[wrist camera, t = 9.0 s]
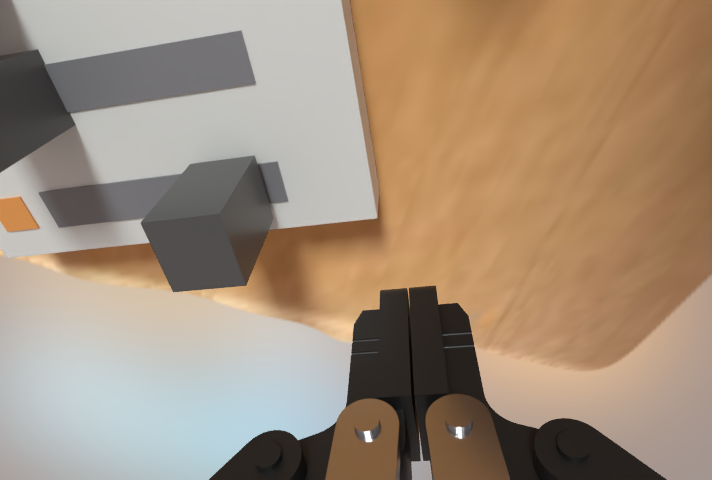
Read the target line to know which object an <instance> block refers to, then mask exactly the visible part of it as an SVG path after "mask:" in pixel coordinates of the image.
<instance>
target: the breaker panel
mask: <svg viewBox="0 0 712 480" xmlns="http://www.w3.org/2000/svg"><path fill="white" fill-rule="evenodd" d="M254 155H255V158H256V161H257V164H258V168H259V171H260V174H261V178H262V181H263V184H264V188H265V191H266V194H267V197H268V201H269V204H270V207H271V211H272V214H273V217H274V219H273V221H272V224H271V226H270V229H269V230H273V229H283V228H292V227H301V226H310V225H320V224H329V223H338V222H348V221H357V220H366V219H376V218H377V216H378V200H379V184H378V178H377V171H376V165H375V159H374V152H373V146H372V140H371V133H370V127H369V121H368V114H367V108H366V102H365V95H364V89H363V82H362V76H361V70H360V63H359V57H358V51H357V44H356V38H355V32H354V25H353V19H352V13H351V6H350V0H0V248H1V250H2V251H3V253H4V254H5V256H6V257H7V258H13V257H22V256H31V255H41V254H50V253H59V252H68V251H78V250H87V249H96V248H106V247H115V246H124V245H134V244H143V243H150V242H149V240H148V238H147V236H146V234H145V232H144V230H143V228H142V226H141V224H140V223H141V221H142V220H143V219H144V218H145V217H146V216H147V214H148V213H149V212H150V211H151V210H152V208H153V207H154V206H155V205H156V204H157V203H158V201H159V200H160V199H161V198H162V197H163V196H164V194H165V193H166V192H167V191H168V190H169V188H170V187H171V186H172V185H173V184H174V183H175V181H176V180H177V179H178V178H179V177H180V175H181V174H182V173H183V172H184V171H185V170H186V168H187V167H188V166H189V165H190V164H193V163H201V162H208V161H216V160H224V159H231V158H239V157H246V156H254Z"/></svg>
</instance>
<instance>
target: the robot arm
mask: <svg viewBox="0 0 712 480" xmlns="http://www.w3.org/2000/svg"><path fill="white" fill-rule="evenodd" d="M409 298H410V307H409V299H408V291H407V288H403V289H391V290H381V291H380V309H378V310H366V311H362V313H361V314H360V316H359V318H358V319H357V321H356V322H355V324H354V331H353V343H352V355H351V363H350V374H349V385H348V396H347V404H346V408H345V409H344V410H343V411H342V412H341V414H340V415H339V417H338V419H337V422H336V423H335V424H334V425H332V426H331V427H330V428H328V429H326V430H325V431H323V432H320V433H318V434H315V435H312V436H309V437H307V438H304V439H301V440H297V439H296V438H295V437H294V436H293V435H292V434H290V433H288V432H286V431H281V430H273V431H268V432H265V433H262V434H260V435H258V436H257V437H255V438H253V439H252V440H251V441H250V442H249V443H248V444H246V445H245V446H244V447H243V448H242V449H241V450H240V451H239V452H238V453H237V454H236V455H235V456H234V457H232V459H230V460H229V461H228V462H227V463H226V464H225V465H224V466H223V467H222V468H221V469H220V470H219V471H218V472H216V474H214V475H213V476H212V477H211V478H210V479H209V480H412V471H411V461H420V443H419V432H420V439H421V446H422V454H423V460H424V461H428V460H429V461H430V463H431V471H432V479H433V480H666V479H665V478H663V477H662V476H661V475H659V474H658V473H657V472H655V471H654V470H652V469H651V468H649V467H648V466H647V465H645V464H644V463H642V462H641V461H639V460H638V459H637V458H635V457H634V456H633V455H631V454H630V453H628V452H627V451H626V450H624V449H623V448H621V447H620V446H619V445H617V444H616V443H614V442H613V441H612V440H610V439H609V438H607V437H606V436H604V435H603V434H602V433H600V432H599V431H597V430H596V429H595V428H593V427H591V426H590V425H588V424H586V423H584V422H581V421H578V420H574V419H565V418H562V419H555V420H551V421H549V422H547V423H545V424H544V425H542V426H541V427H540V429H536V428H532V427H528V426H524V425H520V424H516V423H513V422H510V421H508V420H506V419H504V418H503V417H501V416H499V415H498V414H497V413H496V412H495V411H494V410H493V409H492V408H491V407H490V406H489V404H488V403H487V401H486V399H485V396H484V392H483V387H482V382H481V377H480V372H479V367H478V362H477V357H476V352H475V347H474V342H473V337H472V332H471V327H470V322H469V317H468V315H467V314H466V313H465V311H464V310H463V309H462V308H461V307H460V305H459V304H458V303H453V304H440V305H438V300H437V292H436V286H425V287H414V288H409Z"/></svg>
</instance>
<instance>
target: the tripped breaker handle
mask: <svg viewBox="0 0 712 480" xmlns="http://www.w3.org/2000/svg"><path fill="white" fill-rule="evenodd" d="M273 219H274V217H273V214H272V211H271V207H270V204H269V201H268V197H267V194H266V191H265V188H264V184H263V181H262V178H261V174H260V171H259V168H258V164H257V161H256V158H255V155H254V156H246V157H239V158H231V159H224V160H216V161H208V162H201V163H193V164H190V165H189V166H188V167H187V168H186V170H185V171H184V172H183V173H182V174H181V175H180V177H179V178H178V179H177V180H176V181H175V183H174V184H173V185H172V186H171V187H170V188H169V190H168V191H167V192H166V193H165V194H164V196H163V197H162V198H161V199H160V200H159V201H158V203H157V204H156V205H155V206H154V207H153V208H152V210H151V211H150V212H149V213H148V214H147V216H146V217H145V218H144V219H143V220H142V221H141V223H140V224H141V226H142V228H143V230H144V232H145V234H146V236H147V238H148V240H149V242H150V244H151V246H152V249H153V251H154V253H155V255H156V257H157V259H158V261H159V263H160V265H161V267H162V269H163V271H164V274H165V276H166V278H167V280H168V282H169V284H170V286H171V288H172V290H173V292H180V291H191V290H202V289H213V288H224V287H235V286H246V285H247V282H248V280H249V277H250V275H251V272H252V270H253V268H254V265H255V263H256V260H257V258H258V255H259V253H260V251H261V248H262V246H263V243H264V241H265V238H266V236H267V234H268V231H269V229H270V226H271V224H272V221H273Z"/></svg>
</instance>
